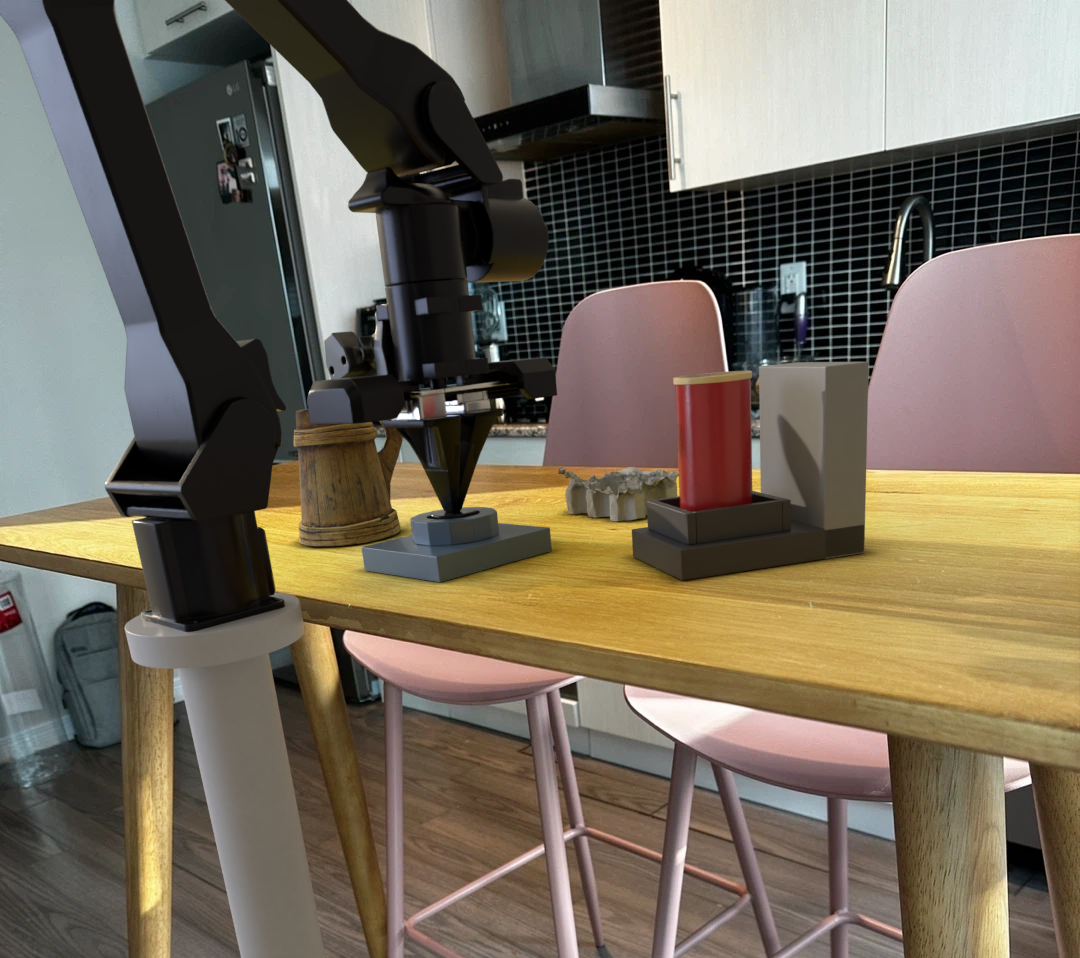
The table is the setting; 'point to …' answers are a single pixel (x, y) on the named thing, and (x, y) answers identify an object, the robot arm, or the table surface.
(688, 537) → the coffee maker
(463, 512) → the button
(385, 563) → the control pad
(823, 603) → the table surface
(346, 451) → the wooden mug
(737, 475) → the red cylinder
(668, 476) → the egg carton
